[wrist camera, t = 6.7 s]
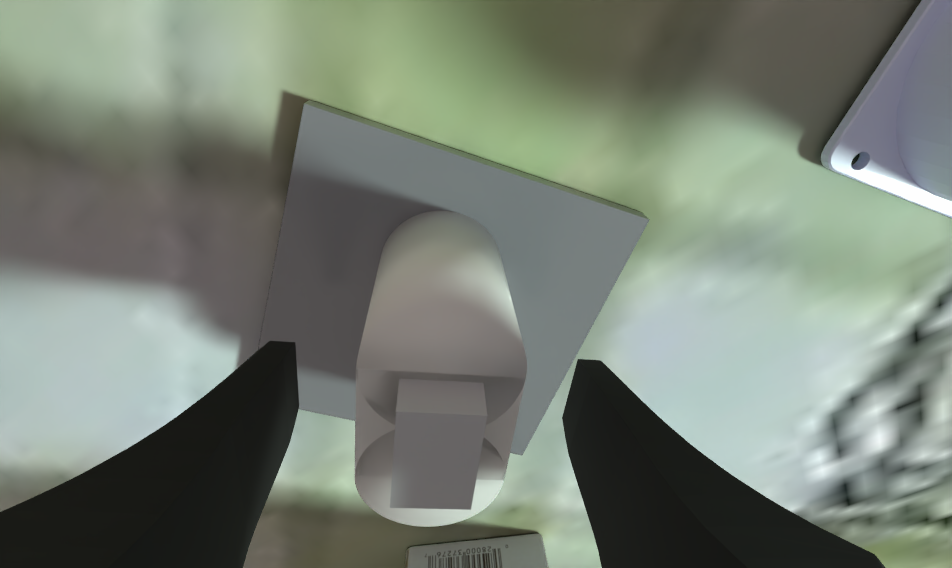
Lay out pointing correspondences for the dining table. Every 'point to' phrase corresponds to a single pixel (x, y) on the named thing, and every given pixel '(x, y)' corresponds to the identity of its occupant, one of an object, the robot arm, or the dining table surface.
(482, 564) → the brown food box
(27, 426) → the dining table surface
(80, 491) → the robot arm
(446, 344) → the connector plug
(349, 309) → the slate coaster
